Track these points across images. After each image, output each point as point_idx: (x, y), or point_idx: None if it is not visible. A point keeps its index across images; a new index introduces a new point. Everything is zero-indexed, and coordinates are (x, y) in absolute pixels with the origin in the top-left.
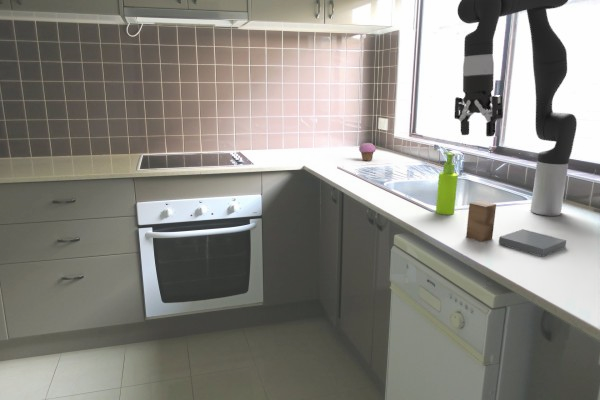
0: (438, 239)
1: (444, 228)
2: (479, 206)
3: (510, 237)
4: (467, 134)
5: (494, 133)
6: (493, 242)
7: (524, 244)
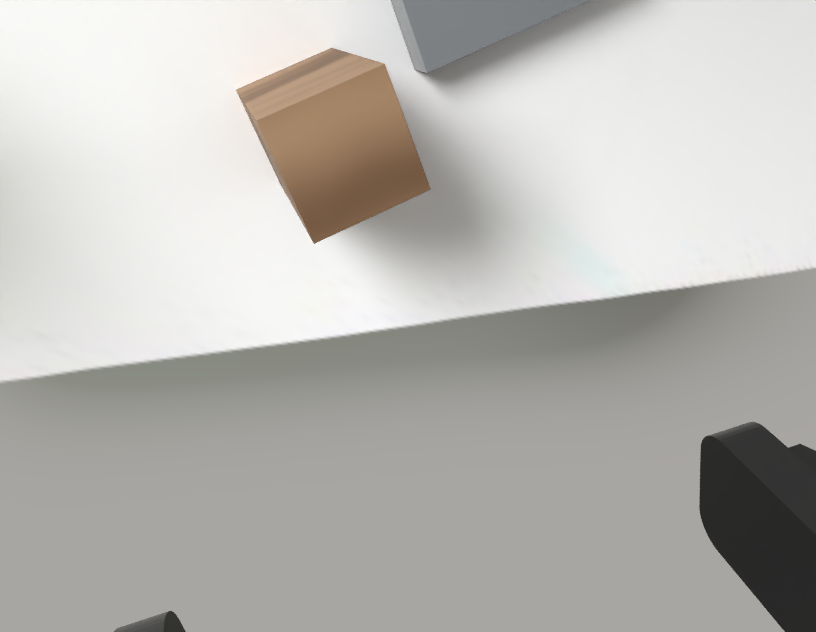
0: (289, 340)
1: (97, 224)
2: (384, 206)
3: (453, 16)
4: (183, 629)
5: (803, 450)
6: None
7: (554, 14)
